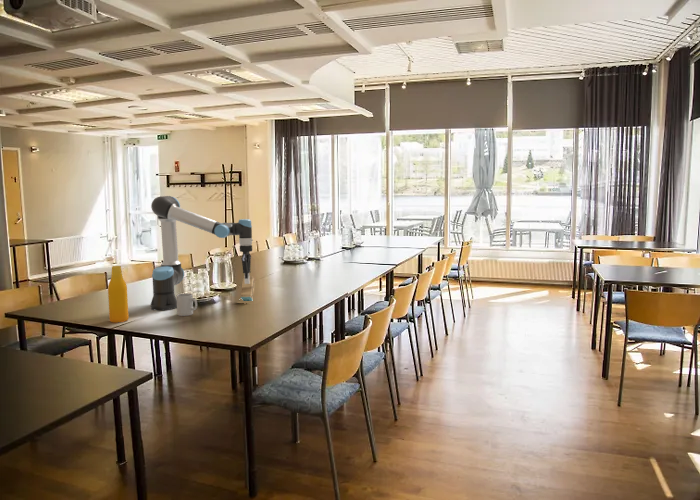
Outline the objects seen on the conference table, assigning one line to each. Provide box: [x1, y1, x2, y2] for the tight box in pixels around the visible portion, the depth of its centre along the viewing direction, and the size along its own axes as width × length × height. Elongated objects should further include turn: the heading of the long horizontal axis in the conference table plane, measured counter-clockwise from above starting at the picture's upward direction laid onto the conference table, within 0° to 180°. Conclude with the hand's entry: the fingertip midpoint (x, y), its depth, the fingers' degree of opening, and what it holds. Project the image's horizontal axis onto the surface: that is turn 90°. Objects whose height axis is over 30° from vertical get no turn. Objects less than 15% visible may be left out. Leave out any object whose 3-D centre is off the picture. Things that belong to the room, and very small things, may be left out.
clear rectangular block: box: [240, 275, 256, 301], centre depth 318 cm, size 6×6×14 cm
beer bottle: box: [107, 265, 130, 324], centre depth 272 cm, size 9×9×29 cm
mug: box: [176, 292, 198, 317], centre depth 287 cm, size 12×8×11 cm
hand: (247, 283), depth 314 cm, fingers closed
